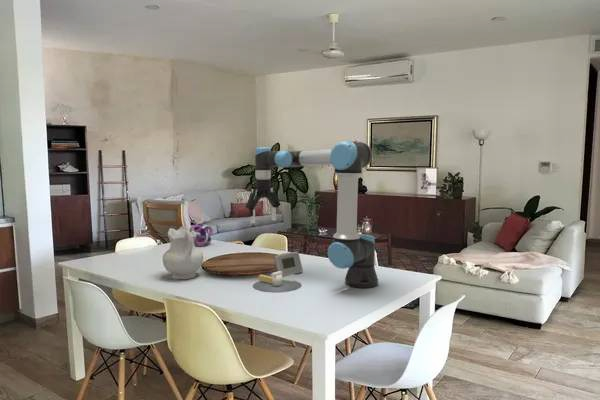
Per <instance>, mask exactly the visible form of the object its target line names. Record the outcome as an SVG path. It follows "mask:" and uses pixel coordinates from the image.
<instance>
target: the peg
mask: <svg viewBox="0 0 600 400" xmlns="http://www.w3.org/2000/svg"><path fill="white" fill-rule="evenodd" d="M282 274H283V272H281V271H278V272H277V271H275V272H271V276H269V275H265V274H258V282H259V281H263V282H267V283H271V284H272V285H273V286H281V285H282V279H283V277H282Z"/></svg>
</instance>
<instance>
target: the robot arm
mask: <svg viewBox="0 0 600 400" xmlns="http://www.w3.org/2000/svg"><path fill="white" fill-rule="evenodd" d="M254 152H255V153H254V159H255V160H254V161H255V171H254V172H255V175H254V176H255V187H256V188H254V189H253V188H251V189H250V193H249V196H248V200H247V202H246V205H245V209H247V210H249V211H248V213H249V214H248V215H249V217H250V224H256V209H255V208H256V206H257V204H258V202H259V201H260V200H261V199H264V198H266V199H267V200H268V202H269V203H270V204H271V206H272V207H271V221H277V214H278V208H280V207H279V206H281V203H280V200H279V198H278V195H277V192H276V191H277V190H276V187H271V185H272V180H271V178H272V177H271V176H272V174H271V173H272V171H271V169H272V168H273V167H274V168H275V167H276V168H288V167H296V168H297V167H313V166H316V167H317V166H332V167H333V168H334V174H335V175H336V176H337V201H336V206H337V207H336V208H337V209H336V211H337V212H336V233H334V234H333V236H332V243H331V244H330V245H329V247H328V249H327V257H328V260H329V262H330V263H331V264H332V266H334V267H336V268H338V269H342V270H343V269H347V271H346V274H345V277H344V284H345V285H346V286H349V287H351V288H358V289H367V288H370V289H371V288H375V287H378V285H379V278H378V275H377V274H378V273H377V272H376V268H375V259H376V258H375V257H376V256H375V254H376V251H375V250H376V242H375V236H373V234H371V235H370V234H363V233H358V232H357V231H358V229H357V226H358V225H357V224H358V219H357V218H358V195H359V193H358V192H359V177H360V176H361V175H362V174H363V173H362V172H363V169H364V168H366V167H368V166H369V165H370V163H371V162H372V159H373V151H372V148H371V147H370V146H369V145H368V144H367V143H366V142H363V141H349V140H346V141H340V142H338V143H336V144H335V145H334V146H333V147H332V148H324V149H314V150H313V149H312V150H298V151H297V150H294V151H290V150H289V151H288V150H273V151H272V150H271V147H270V146H269V147H268V146H267V147H266V146H263V147H261V146H260V147H259V146H258V147H256V148H255V151H254Z"/></svg>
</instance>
